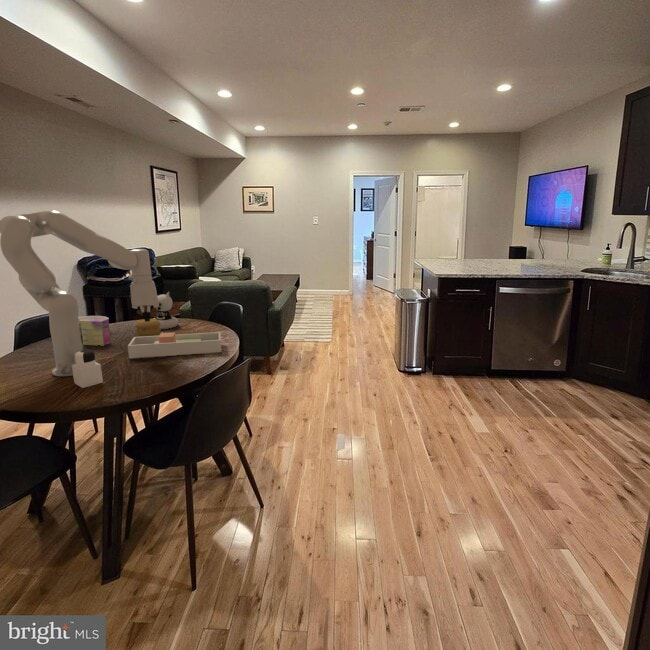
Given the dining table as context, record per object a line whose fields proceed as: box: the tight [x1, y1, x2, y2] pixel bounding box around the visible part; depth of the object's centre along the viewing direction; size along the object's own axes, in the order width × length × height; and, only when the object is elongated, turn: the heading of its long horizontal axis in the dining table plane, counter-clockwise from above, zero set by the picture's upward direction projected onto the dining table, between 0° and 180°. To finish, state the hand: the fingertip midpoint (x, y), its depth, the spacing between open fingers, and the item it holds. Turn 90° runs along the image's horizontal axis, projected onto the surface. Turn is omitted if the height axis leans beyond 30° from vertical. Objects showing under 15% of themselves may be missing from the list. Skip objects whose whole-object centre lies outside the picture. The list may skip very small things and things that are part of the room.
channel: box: [127, 331, 223, 360], centre depth 188 cm, size 14×38×6 cm, turn 104°
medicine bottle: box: [72, 349, 104, 389], centre depth 151 cm, size 7×7×12 cm
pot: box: [135, 318, 162, 337], centre depth 210 cm, size 12×12×10 cm
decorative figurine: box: [152, 291, 179, 330], centre depth 229 cm, size 15×15×20 cm
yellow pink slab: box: [78, 315, 110, 336], centre depth 214 cm, size 25×23×8 cm
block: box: [158, 331, 176, 343], centre depth 186 cm, size 7×6×4 cm
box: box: [80, 318, 112, 347], centre depth 198 cm, size 10×6×12 cm, turn 84°
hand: (147, 320), depth 183 cm, fingers closed
